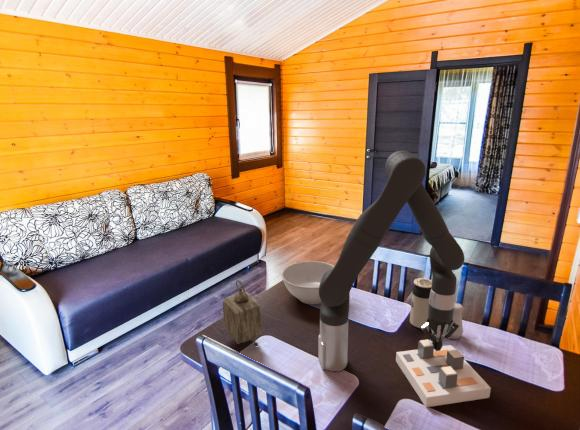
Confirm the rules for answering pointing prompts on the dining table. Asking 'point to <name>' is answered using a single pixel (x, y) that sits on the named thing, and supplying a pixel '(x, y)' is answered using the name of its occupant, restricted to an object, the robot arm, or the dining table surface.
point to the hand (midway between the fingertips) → (436, 349)
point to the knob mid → (455, 359)
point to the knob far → (425, 349)
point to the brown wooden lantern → (242, 316)
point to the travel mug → (420, 301)
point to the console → (427, 374)
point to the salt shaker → (457, 321)
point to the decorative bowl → (305, 280)
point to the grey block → (448, 377)
